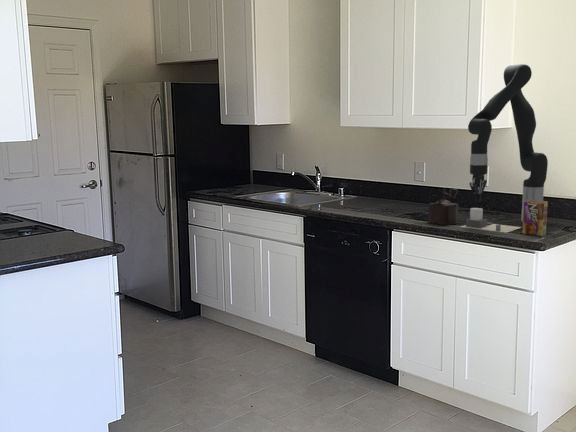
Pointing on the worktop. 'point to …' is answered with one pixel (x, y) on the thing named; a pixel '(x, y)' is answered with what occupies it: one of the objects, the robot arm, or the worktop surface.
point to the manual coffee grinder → (444, 210)
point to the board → (488, 226)
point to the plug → (476, 214)
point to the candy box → (535, 217)
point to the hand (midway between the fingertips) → (477, 201)
